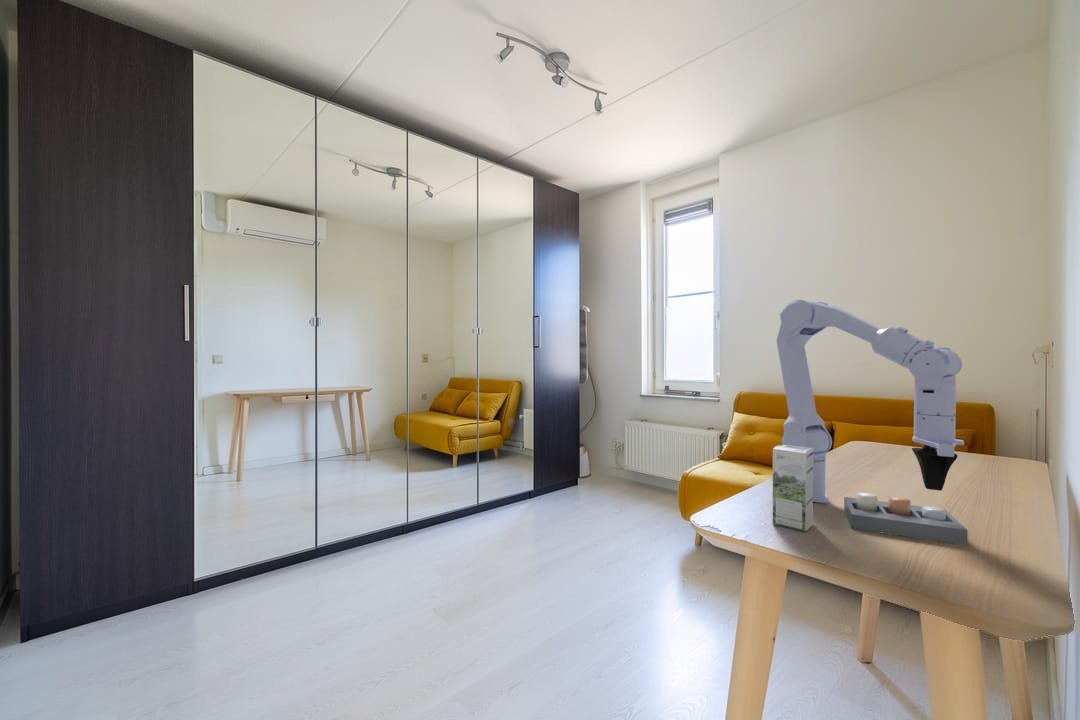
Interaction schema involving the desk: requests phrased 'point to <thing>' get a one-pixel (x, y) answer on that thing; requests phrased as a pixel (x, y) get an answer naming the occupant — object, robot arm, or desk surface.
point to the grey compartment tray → (905, 523)
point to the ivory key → (866, 502)
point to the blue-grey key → (933, 513)
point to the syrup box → (793, 487)
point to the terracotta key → (899, 506)
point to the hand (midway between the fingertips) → (933, 489)
